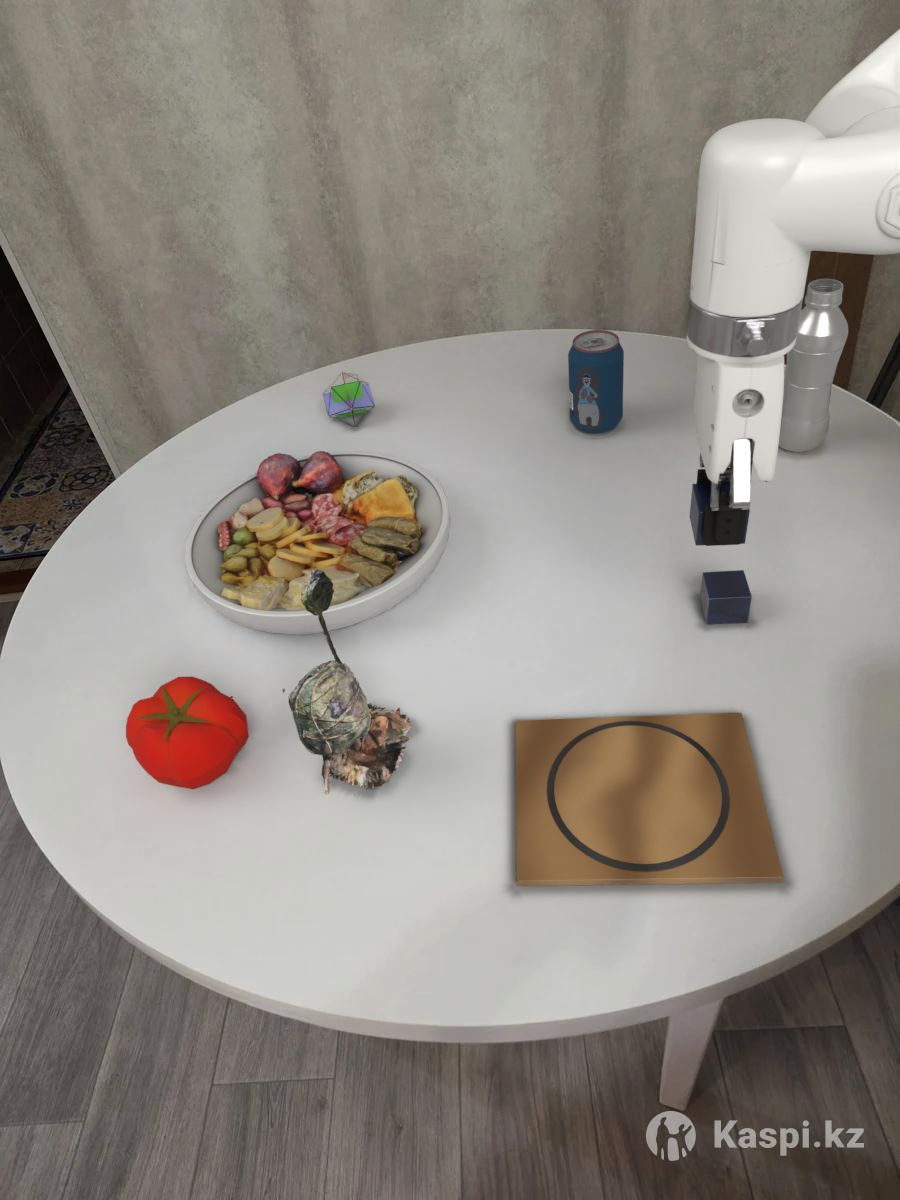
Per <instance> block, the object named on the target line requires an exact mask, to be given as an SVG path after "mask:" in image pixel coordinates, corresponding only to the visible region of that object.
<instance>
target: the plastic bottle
mask: <svg viewBox="0 0 900 1200" xmlns="http://www.w3.org/2000/svg"><path fill="white" fill-rule="evenodd" d="M843 292H844V283H843V282H841V281H839V280H838V279H835V278H818V279H815V280H812V281H810V282H809V283H808V285H807V288H806V295H804V300H803V302H804V304H805V306H804V307H802V308H801V314H800V320H799V326H798V332H797V338H796V343H795V346H794V347H793V348H792V350H790V351H789V352H788V353H787V354H786V363H785V365H786V366H785V374H784V395H783V407H782V418H781V427H780V436H779V445H778V447H780V448H781V449H784V450H786V451H790V452H793V453H794V452H795V453H802V452H808V451H812V450H815V449H817V448H818V447H819V446H820V445H821V444H822V443H823V442H824V441H825V439H826V437H827V434H828V431H829V429H830V419H831V416H830V403H831V396H832V387H833V382H834V378H835V376H836V371H837V367H838V364H839V361H840V358H841V356H842V353H843V350H844V348H845V344H846V342H847V340H848V336H849V324H848V321H847V319H846V317H845V315H844V313H843V311H842V310H841V308H840V307H839V306H840V305H841V304H842V302H843Z"/></svg>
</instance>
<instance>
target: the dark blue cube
mask: <svg viewBox="0 0 900 1200" xmlns="http://www.w3.org/2000/svg"><path fill="white" fill-rule="evenodd" d="M711 484H712V483H709V484H696V483H692V485H691V496H690V497H691V498H690V508H689V521H690V526H691V530H692V531H691V532H692V534H693V539H694V544H695V546H705V545H704V544H703V540H702V536H703V527H704V518H705V509H706V503H710V499H711ZM723 491H730V482H729V483H721V493H722V492H723ZM721 493H720V494H721ZM750 513H751V510H750V507H749V508H748V512H747V519H746V526H745V532H744V539H743V542H742V543H741V544H742V545H743V544H746V538H747V531H748V526H749V519H750ZM741 544H740V545H741Z"/></svg>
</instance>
